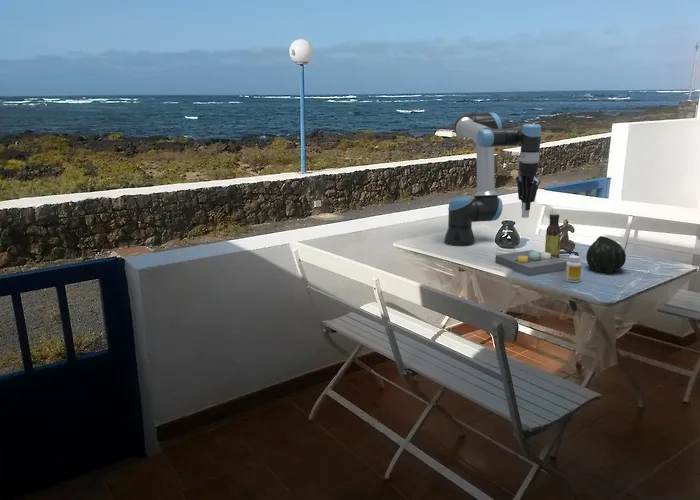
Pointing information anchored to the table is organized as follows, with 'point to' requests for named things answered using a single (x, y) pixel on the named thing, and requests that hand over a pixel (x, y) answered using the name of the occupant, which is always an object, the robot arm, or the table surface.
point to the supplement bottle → (573, 269)
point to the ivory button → (545, 255)
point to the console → (530, 263)
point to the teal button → (534, 256)
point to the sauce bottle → (553, 236)
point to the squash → (605, 255)
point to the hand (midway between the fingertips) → (525, 217)
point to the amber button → (523, 259)
